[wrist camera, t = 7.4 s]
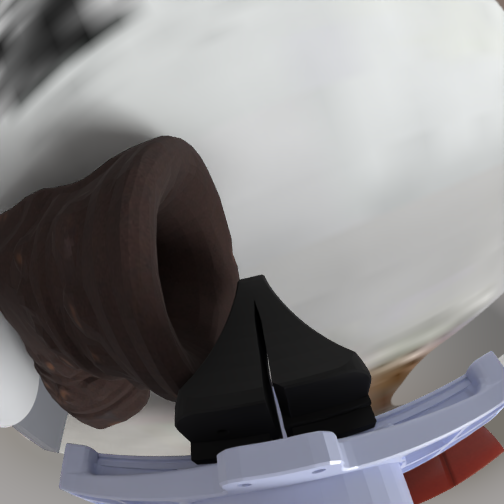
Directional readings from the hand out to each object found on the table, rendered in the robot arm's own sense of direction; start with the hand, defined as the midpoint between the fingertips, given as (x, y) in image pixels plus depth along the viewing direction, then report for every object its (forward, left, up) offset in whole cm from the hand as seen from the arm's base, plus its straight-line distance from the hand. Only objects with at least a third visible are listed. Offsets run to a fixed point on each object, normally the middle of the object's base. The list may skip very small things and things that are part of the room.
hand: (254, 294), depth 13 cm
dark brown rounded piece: (0, +8, -4) cm, 9 cm away
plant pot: (-59, -32, -4) cm, 67 cm away
